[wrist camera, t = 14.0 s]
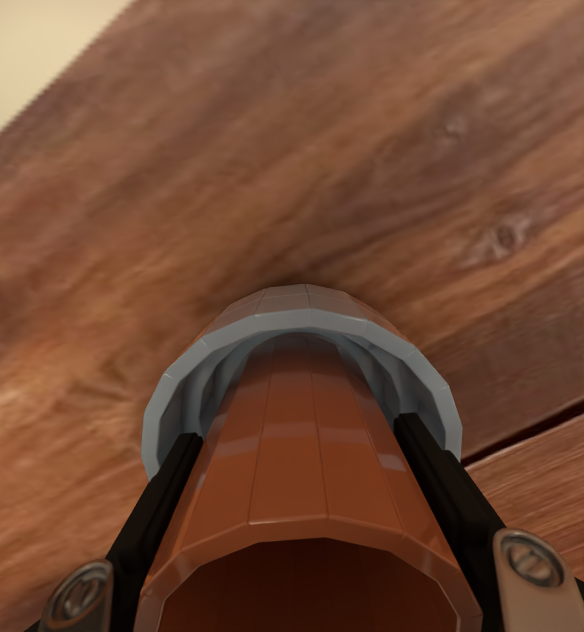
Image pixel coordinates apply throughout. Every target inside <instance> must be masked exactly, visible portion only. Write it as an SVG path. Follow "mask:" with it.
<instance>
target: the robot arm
mask: <svg viewBox="0 0 584 632" xmlns="http://www.w3.org/2000/svg"><path fill="white" fill-rule="evenodd" d="M394 434H395V436H396V438H397V440H398V442H399V444H400V446H401V448H402V450H403V452H404V454H405V456H406V458H407V460H408V462H409V464H410V466H411V468H412V470H413V472H414V474H415V476H416V478H417V480H418V482H419V484H420V486H421V488H422V490H423V492H424V494H425V496H426V498H427V500H428V502H429V504H430V506H431V508H432V510H433V512H434V514H435V516H436V518H437V520H438V522H439V524H440V526H441V528H442V530H443V532H444V534H445V536H446V538H447V540H448V542H449V544H450V546H451V547H452V549H453V551H454V553H455V555H456V557H457V559H458V561H459V563H460V565H461V567H462V569H463V571H464V573H465V575H466V577H467V579H468V581H469V583H470V585H471V587H472V589H473V591H474V593H475V595H476V597H477V599H478V601H479V603H480V605H481V607H482V610H483V615H484V617H483V625H482V632H584V582H583V581H581V580H579V579H577V578H575V577H574V575H573V572H572V571H571V569H570V567H569V565H568V563H567V561H566V560H565V559H564V558H563V557H562V555H561V554H560V553H559V552H558V551H557V550H556V549H555V548H554V547H553V546H551V545H550V544H549V543H548V542H547V541H545V540H544V539H542V538H540V537H539V536H537V535H535V534H533V533H531V532H528V531H526V530H523V529H519V528H513V527H510V528H507V527H506V526H505V524H504V523H503V521H502V520H501V519H500V517H499V516H498V515H497V513H496V512H495V510H494V509H493V508H492V506H491V505H490V504H489V502H488V501H487V499H486V498H485V497H484V495H483V494H482V493H481V491H480V490H479V488H478V487H477V486H476V484H475V483H474V481H473V480H472V479H471V477H470V476H469V475H468V473H467V472H466V470H465V469H464V468H463V466H462V465H461V464H460V462H459V461H458V459H457V458H456V457H455V455H454V454H453V453H452V452H451V451H450V450H442V449H441V448H440V446H439V445H438V443H437V442H436V440H435V439H434V438H433V436H432V435H431V433H430V432H429V430H428V429H427V427H426V426H425V424H424V423H423V421H422V420H421V419H420V417H419V416H418V414H417V413H416V412H411V413H400V414H399V416H398V418H395V419H394ZM203 443H204V441H203V438H202V436H198V434H197V433H196V432H193V433H182V434H179V436H178V437H177V439H176V441H175V443H174V444H173V446H172V448H171V450H170V451H169V453H168V455H167V457H166V458H165V460H164V462H163V464H162V466H161V467H160V469H159V471H158V473H157V474H156V475H155V476H154V477H152V479H151V480H150V482H149V483H148V485H147V487H146V488H145V490H144V492H143V494H142V495H141V497H140V499H139V500H138V502H137V504H136V506H135V507H134V509H133V511H132V513H131V514H130V516H129V518H128V519H127V521H126V523H125V525H124V526H123V528H122V530H121V532H120V533H119V535H118V537H117V538H116V540H115V542H114V544H113V545H112V547H111V549H110V551H109V552H108V554H107V556H106V557H105V559H95V560H92V561H90V562H87V563H85V564H83V565H82V566H80V567H78V568H77V569H75V570H74V571H73V572H71V573H70V574H69V575H68V576H67V577H65V579H64V580H63V581H62V582H61V583H60V584H59V585H58V586H57V587H56V589H55V590H54V592H53V593H52V594H51V596H50V597H49V599H48V601H47V604H46V606H45V608H44V611H43V614H42V618H41V619H40V620H38V621H37V622H36V623H35V624H33V625H32V626H31V627H29V628H28V629H27V630H25V631H24V632H132V630H133V625H134V620H135V615H136V610H137V605H138V600H139V595H140V591H141V588H142V586H143V584H144V581H145V579H146V577H147V574H148V572H149V570H150V567H151V565H152V563H153V560H154V558H155V556H156V553H157V551H158V549H159V546H160V544H161V542H162V539H163V537H164V534H165V532H166V530H167V527H168V525H169V523H170V520H171V518H172V516H173V513H174V511H175V509H176V506H177V504H178V502H179V499H180V497H181V495H182V492H183V490H184V488H185V485H186V483H187V481H188V478H189V476H190V474H191V471H192V469H193V467H194V464H195V462H196V459H197V457H198V455H199V452H200V450H201V448H202V445H203Z"/></svg>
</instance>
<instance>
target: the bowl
mask: <svg viewBox="0 0 584 632" xmlns="http://www.w3.org/2000/svg"><path fill="white" fill-rule="evenodd" d="M288 333H311V334H316V335H320V336H323V337H326V338H329V339H331V340H333V341H335V342H337V343H338V344H340V345H341V346H343V347H344V348H345V349H346V350H347V351H349V352H350V353H351V354H352V356H353V357H354V358H355V359H356V360H357V362H358V363H359V365H360V367H361V369H362V371H363V373H364V375H365V377H366V379H367V380H368V382H369V384H370V386H371V388H372V390H373V392H374V394H375V396H376V398H377V400H378V402H379V404H380V406H381V408H382V410H383V412H384V414H385V416H386V418H387V420H388V422H389V424H390V426H391V428H392V430H393V432H394V419H395V418H398V416H399V414H400V413H411V412H416V413H417V414H418V416H419V417H420V419H421V420H422V421H423V423H424V424H425V426H426V427H427V429H428V430H429V432H430V433H431V435H432V436H433V438H434V439H435V440H436V442H437V443H438V445H439V446H440V448H441V449H442V450H450V451H451V452H452V453H453V454H454V455H455V457H456V458H457V459H458V461H459V462H460V458H461V444H462V424H461V421H460V418H459V415H458V412H457V409H456V406H455V403H454V400H453V397H452V394H451V391H450V388H449V385H448V384H447V382H446V381H445V380H444V379H443V377H442V376H441V375H440V374H439V373H438V372H437V370H436V369H435V368H434V367H433V366H432V364H431V363H430V362H429V361H428V360H427V359H426V357H425V356H424V355H423V354H422V353H421V351H420V350H419V349H418V348H417V347H416V346H415V345H414V344H413V343H412V342H411V341H409V340H408V339H407V338H406V337H405V336H404V335H403V334H402V333H401V332H400V331H399V330H398V329H396V328H395V327H394V326H393V325H392V324H391V323H390V322H389V321H388V320H387V319H386V318H385V317H384V316H382V315H381V314H380V313H379V312H378V311H377V310H376V309H374V308H372V307H370V306H369V305H367V304H365V303H364V302H362V301H360V300H358V299H357V298H355V297H353V296H351V295H350V294H348V293H346V292H343V291H340V290H335V289H330V288H325V287H321V286H316V285H311V284H306V285H305V284H296V285H287V286H278V287H269V288H267V289H262V290H260V291H258V292H255V293H253V294H251V295H249V296H247V297H244V298H242V299H240V300H238V301H236V302H233V303H232V304H230V305H229V306H228V307H227V308H226V309H224V310H223V311H222V312H221V313H220V314H219V315H218V316H217V317H216V318H215V319H214V320H213V321H212V322H211V323H210V324H208V325H207V326H206V327H205V328H204V329H203V330H202V332H201V333H200V334H199V335H198V336H197V337H196V338H195V339H194V340H193V341H192V342H191V343H190V344H189V345H188V346H187V348H186V349H185V350H184V351H183V352H182V353H181V354H180V355H179V356H178V357H177V358H176V359H175V360H174V361H173V363H172V364H171V365H170V366H169V367H168V368H167V369H166V370H165V372H164V373H163V374H162V376H161V378H160V380H159V383H158V385H157V387H156V389H155V391H154V393H153V395H152V397H151V399H150V401H149V403H148V405H147V407H146V409H145V411H144V416H143V431H142V446H141V455H142V456H141V459H142V462H143V465H144V468H145V471H146V474H147V477H148V481H149V482H150V480H151V479H152V477H154V476H155V475H156V474H157V473H158V471H159V469H160V467H161V466H162V464H163V462H164V460H165V458H166V457H167V455H168V453H169V451H170V450H171V448H172V446H173V444H174V443H175V441H176V439H177V437H178V436H179V434H182V433H193V432H196V433H197V434H198V436H202V438H203V441H205V438H206V436H207V434H208V431H209V429H210V427H211V424H212V422H213V420H214V417H215V415H216V413H217V410H218V408H219V406H220V403H221V401H222V399H223V396H224V394H225V392H226V389H227V387H228V384H229V382H230V380H231V377H232V375H233V373H234V372H235V370H236V369H237V367H238V365H239V363H240V362H241V361H242V359H243V358H244V357H245V356H246V355H247V354H248V352H249V351H251V350H252V349H253V348H254V347H256V346H257V345H259V344H260V343H262V342H263V341H265V340H268V339H270V338H272V337H275V336H279V335H282V334H288Z"/></svg>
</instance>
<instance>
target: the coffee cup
mask: <svg viewBox="0 0 584 632" xmlns="http://www.w3.org/2000/svg"><path fill="white" fill-rule="evenodd" d="M483 617H484V615H483V610H482V607H481V605H480V603H479V601H478V599H477V597H476V595H475V593H474V591H473V589H472V587H471V585H470V583H469V581H468V579H467V577H466V575H465V573H464V571H463V569H462V567H461V565H460V563H459V561H458V559H457V557H456V555H455V553H454V551H453V549H452V547H451V546H450V544H449V542H448V540H447V538H446V536H445V534H444V532H443V530H442V528H441V526H440V524H439V522H438V520H437V518H436V516H435V514H434V512H433V510H432V508H431V506H430V504H429V502H428V500H427V498H426V496H425V494H424V492H423V490H422V488H421V486H420V484H419V482H418V480H417V478H416V476H415V474H414V472H413V470H412V468H411V466H410V464H409V462H408V460H407V458H406V456H405V454H404V452H403V450H402V448H401V446H400V444H399V442H398V440H397V438H396V436H395V434H394V432H393V430H392V428H391V426H390V424H389V422H388V420H387V418H386V416H385V414H384V412H383V410H382V408H381V406H380V404H379V402H378V400H377V398H376V396H375V394H374V392H373V390H372V388H371V386H370V384H369V382H368V380H367V379H366V377H365V375H364V373H363V371H362V369H361V367H360V365H359V363H358V362H357V360H356V359H355V358H354V357H353V356H352V354H351V353H350V352H349V351H347V350H346V349H345V348H344V347H343V346H341V345H340V344H338V343H337V342H335V341H333V340H331V339H329V338H326V337H323V336H320V335H316V334H311V333H288V334H282V335H279V336H275V337H272V338H270V339H268V340H265V341H263V342H262V343H260V344H259V345H257V346H256V347H254V348H253V349H252V350H251V351H249V352H248V354H247V355H246V356H245V357H244V358H243V359H242V361H241V362H240V363H239V365H238V367H237V369H236V370H235V372H234V373H233V375H232V377H231V380H230V382H229V384H228V387H227V389H226V392H225V394H224V396H223V399H222V401H221V403H220V406H219V408H218V410H217V413H216V415H215V417H214V420H213V422H212V424H211V427H210V429H209V431H208V434H207V436H206V438H205V441H204V443H203V445H202V448H201V450H200V452H199V455H198V457H197V459H196V462H195V464H194V467H193V469H192V471H191V474H190V476H189V478H188V481H187V483H186V485H185V488H184V490H183V492H182V495H181V497H180V499H179V502H178V504H177V506H176V509H175V511H174V513H173V516H172V518H171V520H170V523H169V525H168V527H167V530H166V532H165V534H164V537H163V539H162V542H161V544H160V546H159V549H158V551H157V553H156V556H155V558H154V560H153V563H152V565H151V567H150V570H149V572H148V574H147V577H146V579H145V581H144V584H143V586H142V588H141V591H140V595H139V600H138V605H137V610H136V615H135V620H134V625H133V630H132V632H482V625H483Z"/></svg>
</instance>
